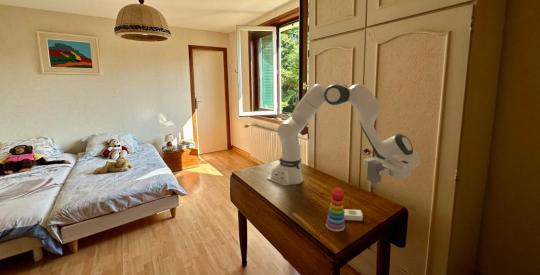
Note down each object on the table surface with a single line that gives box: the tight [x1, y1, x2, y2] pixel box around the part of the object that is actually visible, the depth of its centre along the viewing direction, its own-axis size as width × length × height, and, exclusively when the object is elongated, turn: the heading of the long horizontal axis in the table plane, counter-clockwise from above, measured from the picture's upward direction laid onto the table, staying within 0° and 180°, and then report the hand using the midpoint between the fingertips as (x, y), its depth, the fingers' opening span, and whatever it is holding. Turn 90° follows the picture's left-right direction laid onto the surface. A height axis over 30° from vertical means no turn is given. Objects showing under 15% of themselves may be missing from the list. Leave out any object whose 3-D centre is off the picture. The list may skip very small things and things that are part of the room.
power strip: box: [344, 208, 364, 221], centre depth 114 cm, size 11×5×4 cm, turn 83°
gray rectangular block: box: [366, 160, 382, 187], centre depth 114 cm, size 4×4×11 cm
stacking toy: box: [325, 187, 346, 232], centre depth 106 cm, size 8×8×19 cm
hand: (373, 170), depth 114 cm, fingers closed on gray rectangular block, 4 cm apart
